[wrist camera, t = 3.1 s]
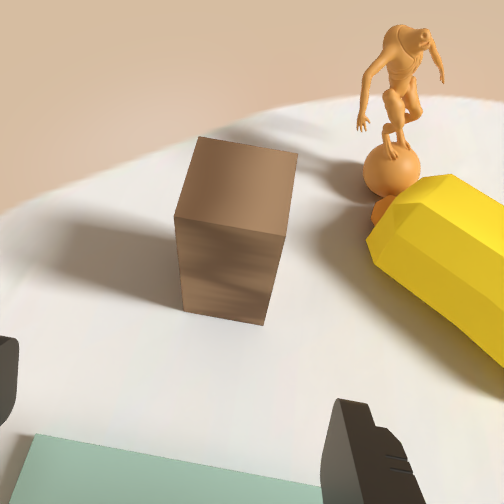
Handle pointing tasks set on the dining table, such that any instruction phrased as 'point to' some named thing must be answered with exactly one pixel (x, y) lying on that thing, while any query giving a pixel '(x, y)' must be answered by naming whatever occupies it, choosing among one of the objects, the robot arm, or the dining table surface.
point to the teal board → (140, 479)
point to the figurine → (396, 109)
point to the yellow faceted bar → (447, 253)
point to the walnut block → (232, 228)
